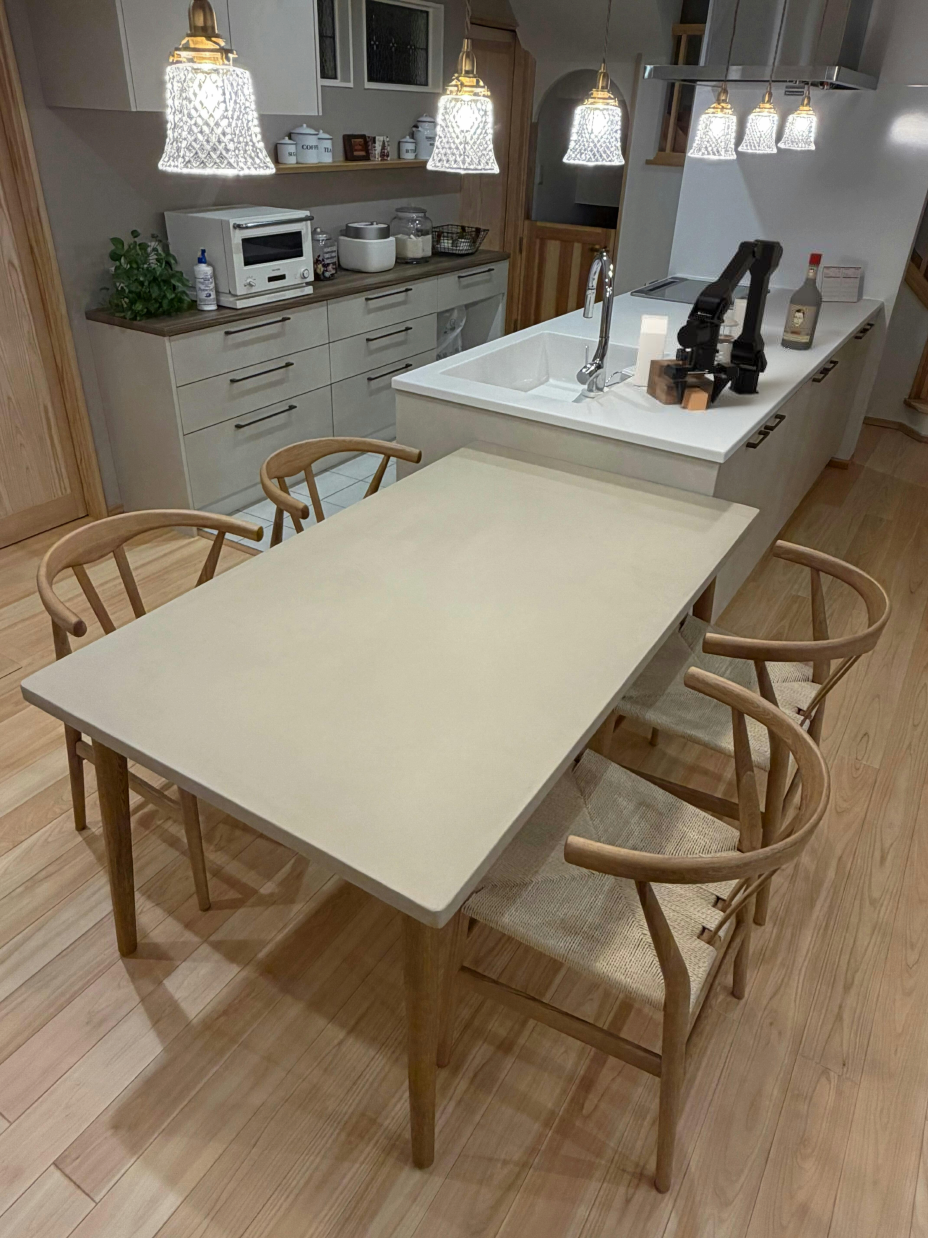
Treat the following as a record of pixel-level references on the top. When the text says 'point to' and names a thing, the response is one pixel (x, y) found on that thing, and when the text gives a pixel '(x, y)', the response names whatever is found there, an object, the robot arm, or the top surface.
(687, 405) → the orange rectangular block
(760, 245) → the robot arm
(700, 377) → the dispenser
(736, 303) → the supplement box
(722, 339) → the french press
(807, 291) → the liquor
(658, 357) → the milk carton
